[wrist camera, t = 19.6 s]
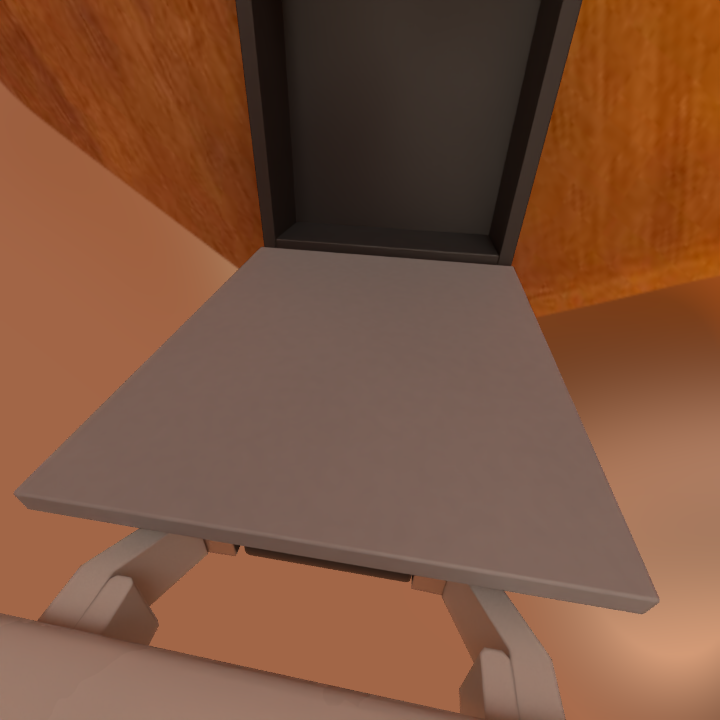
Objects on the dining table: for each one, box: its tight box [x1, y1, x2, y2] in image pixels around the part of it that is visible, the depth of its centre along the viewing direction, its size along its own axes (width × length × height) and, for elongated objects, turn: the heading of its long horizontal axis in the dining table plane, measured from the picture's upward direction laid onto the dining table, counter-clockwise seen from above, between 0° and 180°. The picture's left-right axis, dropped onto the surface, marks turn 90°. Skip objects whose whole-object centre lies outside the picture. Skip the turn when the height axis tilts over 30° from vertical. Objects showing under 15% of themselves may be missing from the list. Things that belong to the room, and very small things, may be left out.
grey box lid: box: [14, 247, 659, 614], centre depth 15 cm, size 15×13×5 cm
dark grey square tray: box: [236, 0, 582, 266], centre depth 18 cm, size 14×13×5 cm
